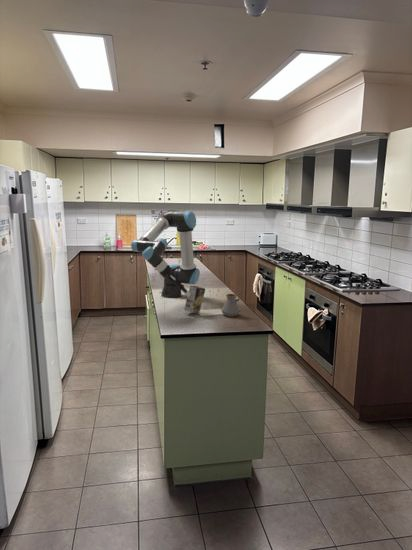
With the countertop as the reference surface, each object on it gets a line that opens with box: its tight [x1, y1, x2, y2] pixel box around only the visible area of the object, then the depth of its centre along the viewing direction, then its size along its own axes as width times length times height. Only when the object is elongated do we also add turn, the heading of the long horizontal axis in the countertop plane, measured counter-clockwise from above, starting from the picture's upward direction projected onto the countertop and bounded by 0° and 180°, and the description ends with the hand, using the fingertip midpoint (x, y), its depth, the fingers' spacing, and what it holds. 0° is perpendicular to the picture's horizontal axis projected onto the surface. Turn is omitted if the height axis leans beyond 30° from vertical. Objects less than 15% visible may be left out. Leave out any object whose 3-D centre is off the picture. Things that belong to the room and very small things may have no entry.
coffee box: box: [183, 285, 206, 314], centre depth 250 cm, size 9×6×16 cm
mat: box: [197, 308, 225, 317], centre depth 255 cm, size 12×18×1 cm, turn 109°
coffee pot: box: [221, 293, 241, 318], centre depth 244 cm, size 21×12×15 cm, turn 13°
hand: (189, 295), depth 246 cm, fingers closed
